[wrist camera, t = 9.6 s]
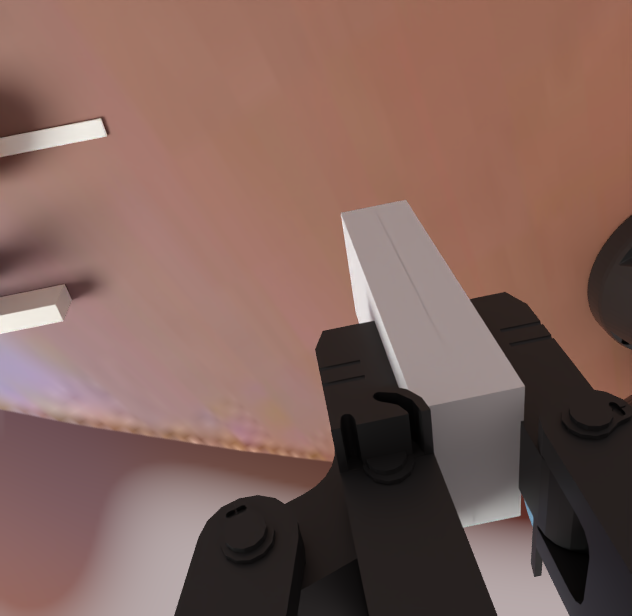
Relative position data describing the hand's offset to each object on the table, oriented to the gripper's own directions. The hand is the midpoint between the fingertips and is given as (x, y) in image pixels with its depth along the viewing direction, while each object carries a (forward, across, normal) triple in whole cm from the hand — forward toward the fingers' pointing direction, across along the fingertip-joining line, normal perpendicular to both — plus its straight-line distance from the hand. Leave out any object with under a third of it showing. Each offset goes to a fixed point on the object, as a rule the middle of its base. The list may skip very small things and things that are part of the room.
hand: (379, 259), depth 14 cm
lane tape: (+30, +18, +3) cm, 35 cm away
